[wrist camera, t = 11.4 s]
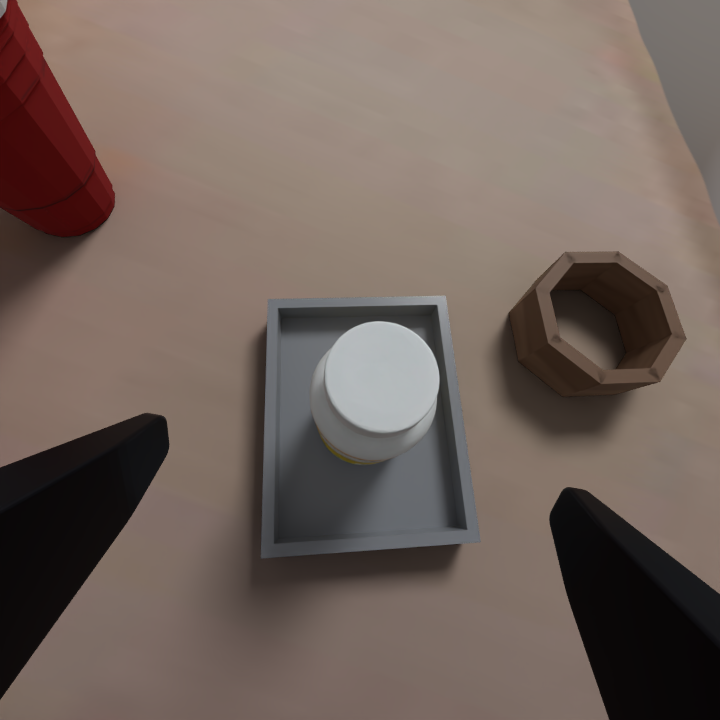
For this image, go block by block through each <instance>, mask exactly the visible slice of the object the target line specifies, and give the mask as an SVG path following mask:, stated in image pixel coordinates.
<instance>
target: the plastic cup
mask: <svg viewBox="0 0 720 720" xmlns="http://www.w3.org/2000/svg"><path fill="white" fill-rule="evenodd" d="M114 204H115V193H114V191H113V189H112V184H111V182H110V181H109V179H108V177H107V175H106V173H105V171H104V170H103V168H102V166H101V164H100V162H99V161H98V159H97V157H96V155H95V150H94V148H93V146H92V144H91V143H90V141H89V139H88V137H87V135H86V133H85V132H84V130H83V128H82V126H81V124H80V123H79V121H78V119H77V117H76V115H75V113H74V112H73V110H72V108H71V106H70V104H69V103H68V101H67V99H66V97H65V95H64V93H63V92H62V90H61V88H60V86H59V84H58V83H57V81H56V79H55V77H54V75H53V73H52V72H51V70H50V68H49V66H48V64H47V63H46V61H45V59H44V57H43V52H42V50H41V48H40V46H39V44H38V43H37V41H36V39H35V37H34V35H33V34H32V32H31V30H30V28H29V24H28V23H27V21H26V19H25V17H24V15H23V13H22V12H21V10H20V8H19V6H18V3H17V1H16V0H0V208H2V209H4V210H5V211H7V212H9V213H10V214H12V215H14V216H15V217H17V218H19V219H20V220H22V221H24V222H25V223H27V224H29V225H30V226H32V227H34V228H35V229H37V230H42V231H43V232H45V233H47V234H51V235H56V236H60V237H67V236H77V235H81V234H84V233H86V232H88V231H91V230H93V229H96V228H97V227H98V226H99V225H100V224H101V223H103V222H104V221H105V220H106V219H107V218H108V217H109V215H110V213H111V211H112V209H113V208H114Z"/></svg>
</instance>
